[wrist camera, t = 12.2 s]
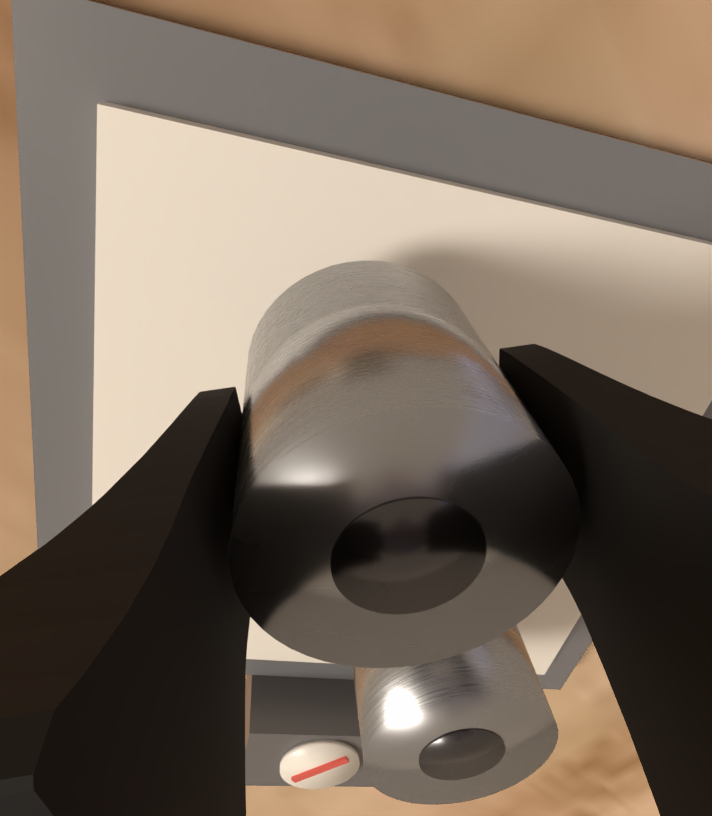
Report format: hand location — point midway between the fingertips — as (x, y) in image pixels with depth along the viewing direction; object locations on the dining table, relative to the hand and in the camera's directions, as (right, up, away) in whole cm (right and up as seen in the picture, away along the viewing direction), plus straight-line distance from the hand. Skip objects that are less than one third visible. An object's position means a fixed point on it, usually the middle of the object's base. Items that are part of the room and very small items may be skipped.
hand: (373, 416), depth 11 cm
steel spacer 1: (0, +1, +1) cm, 2 cm away
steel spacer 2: (+2, -5, +7) cm, 9 cm away
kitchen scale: (0, -2, +7) cm, 8 cm away
